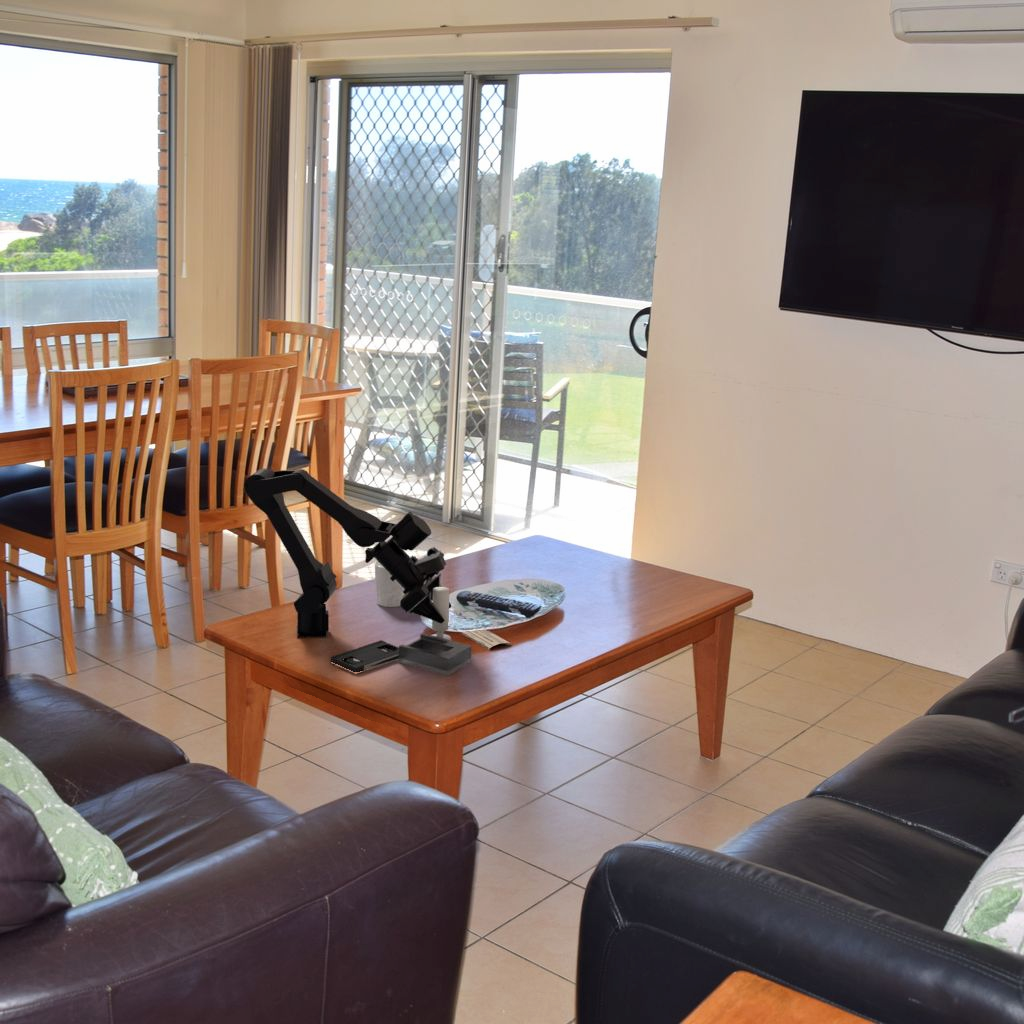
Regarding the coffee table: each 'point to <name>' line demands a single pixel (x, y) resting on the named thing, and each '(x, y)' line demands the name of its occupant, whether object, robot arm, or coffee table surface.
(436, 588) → the post
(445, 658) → the keyhole plate
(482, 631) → the newspaper
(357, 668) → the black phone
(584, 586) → the coffee table surface
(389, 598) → the white cup
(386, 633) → the coffee table surface
